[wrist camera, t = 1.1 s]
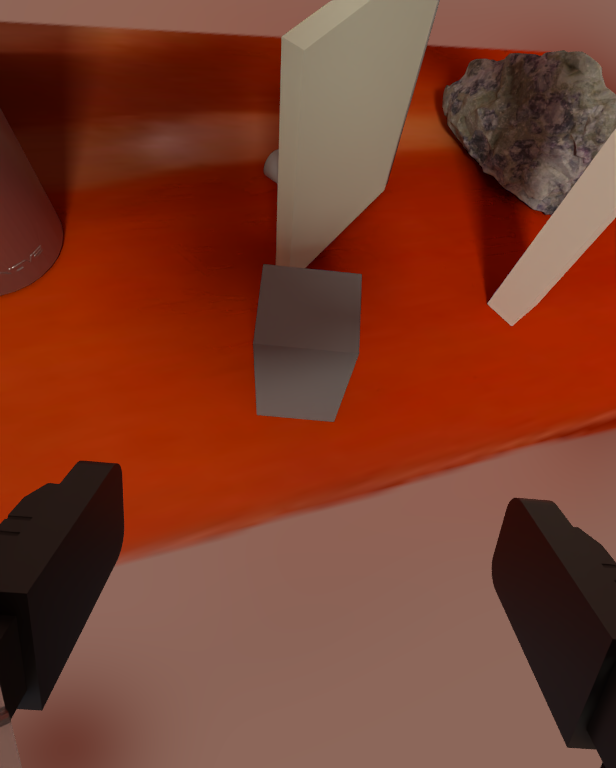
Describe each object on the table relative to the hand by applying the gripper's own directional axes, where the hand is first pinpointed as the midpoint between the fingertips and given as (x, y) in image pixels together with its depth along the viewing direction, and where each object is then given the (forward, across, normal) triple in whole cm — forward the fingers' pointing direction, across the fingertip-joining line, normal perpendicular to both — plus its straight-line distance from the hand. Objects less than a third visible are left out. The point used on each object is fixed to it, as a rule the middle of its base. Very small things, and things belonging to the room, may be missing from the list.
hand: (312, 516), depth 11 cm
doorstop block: (+23, 0, +6) cm, 24 cm away
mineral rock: (+39, -16, -10) cm, 43 cm away
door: (+32, -1, -4) cm, 32 cm away
